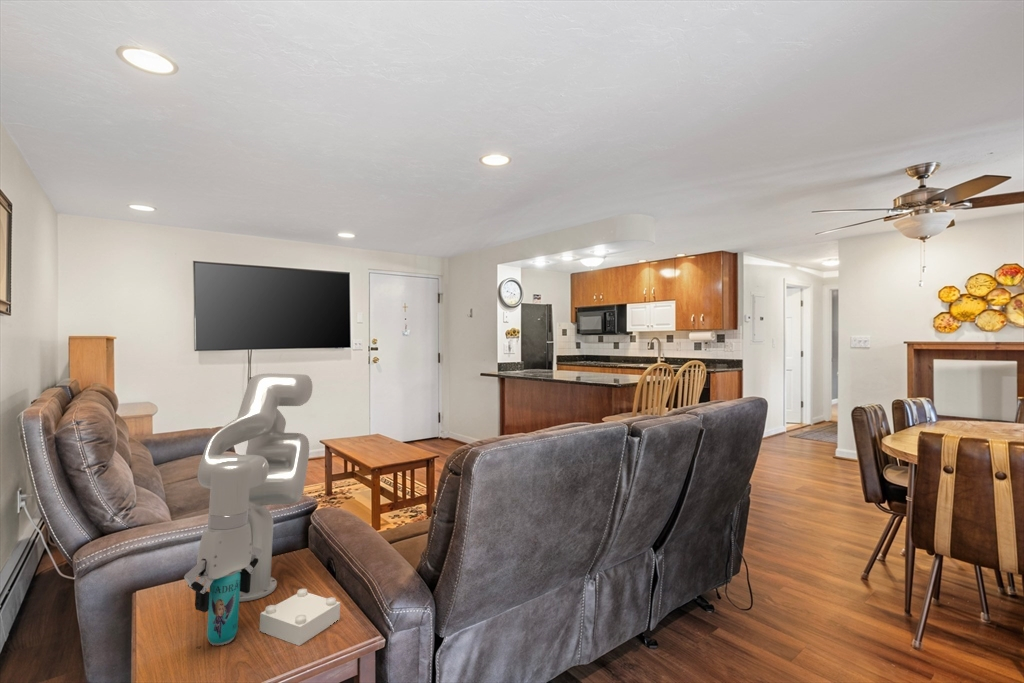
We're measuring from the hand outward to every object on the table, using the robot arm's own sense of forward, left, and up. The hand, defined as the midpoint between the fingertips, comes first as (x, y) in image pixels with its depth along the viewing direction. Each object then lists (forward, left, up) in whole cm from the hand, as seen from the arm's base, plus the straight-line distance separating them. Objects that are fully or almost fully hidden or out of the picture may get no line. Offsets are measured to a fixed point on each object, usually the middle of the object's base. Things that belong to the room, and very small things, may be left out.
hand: (223, 600), depth 108 cm
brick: (+10, +12, -9) cm, 18 cm away
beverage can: (0, 0, -9) cm, 9 cm away
